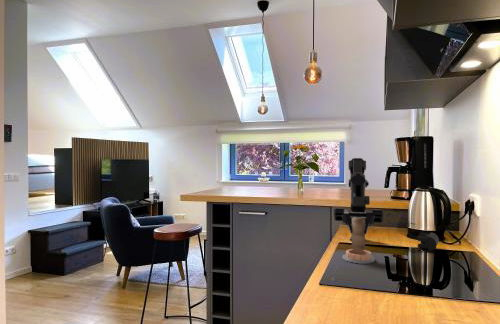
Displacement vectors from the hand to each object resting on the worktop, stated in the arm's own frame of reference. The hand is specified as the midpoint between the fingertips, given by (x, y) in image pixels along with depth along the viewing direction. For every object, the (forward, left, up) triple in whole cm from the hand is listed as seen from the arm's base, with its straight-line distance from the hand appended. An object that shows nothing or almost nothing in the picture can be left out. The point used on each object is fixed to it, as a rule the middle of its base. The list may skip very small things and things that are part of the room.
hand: (358, 233), depth 136 cm
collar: (-1, 0, -11) cm, 11 cm away
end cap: (-27, +27, -11) cm, 39 cm away
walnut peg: (-1, 0, -7) cm, 7 cm away
